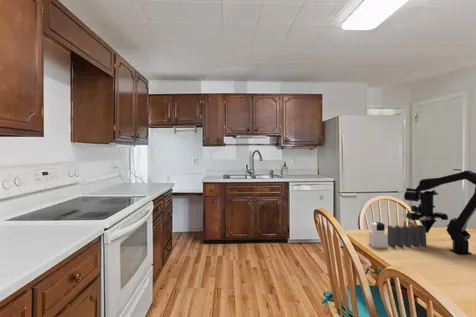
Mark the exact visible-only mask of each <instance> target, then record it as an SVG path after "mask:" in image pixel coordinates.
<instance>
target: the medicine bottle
mask: <svg viewBox="0 0 476 317" xmlns="http://www.w3.org/2000/svg"><path fill="white" fill-rule="evenodd" d="M385 227H386V225H385V223H383V222H379V221H378V222H377V221H376V222H372V223H371V230H369V231H368V244H369V245H370V246H371V247H372V248H373V249H374V248H375V249H376V248H377V249H387V248H388V246H389V245H388V233H386V232H385Z"/></svg>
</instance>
